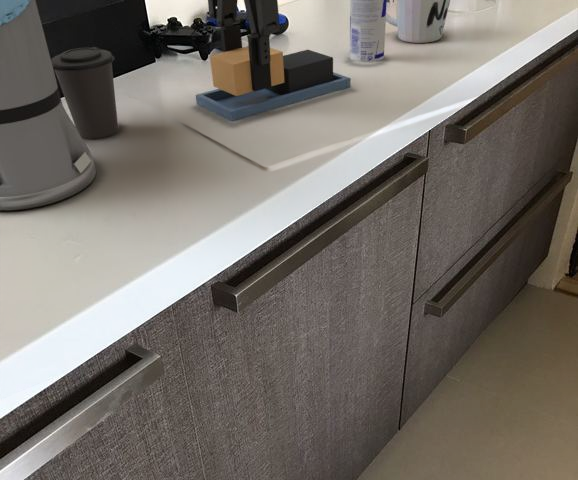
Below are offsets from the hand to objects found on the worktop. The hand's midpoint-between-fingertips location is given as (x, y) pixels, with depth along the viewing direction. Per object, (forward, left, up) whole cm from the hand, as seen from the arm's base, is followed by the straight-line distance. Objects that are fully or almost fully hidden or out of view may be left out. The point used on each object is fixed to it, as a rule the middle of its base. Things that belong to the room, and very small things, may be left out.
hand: (248, 82), depth 92 cm
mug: (+41, +11, -3) cm, 43 cm away
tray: (+4, 0, -3) cm, 5 cm away
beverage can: (+26, +5, -3) cm, 27 cm away
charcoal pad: (+9, 0, -3) cm, 9 cm away
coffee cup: (-21, +6, -3) cm, 22 cm away
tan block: (0, 0, 0) cm, 0 cm away
